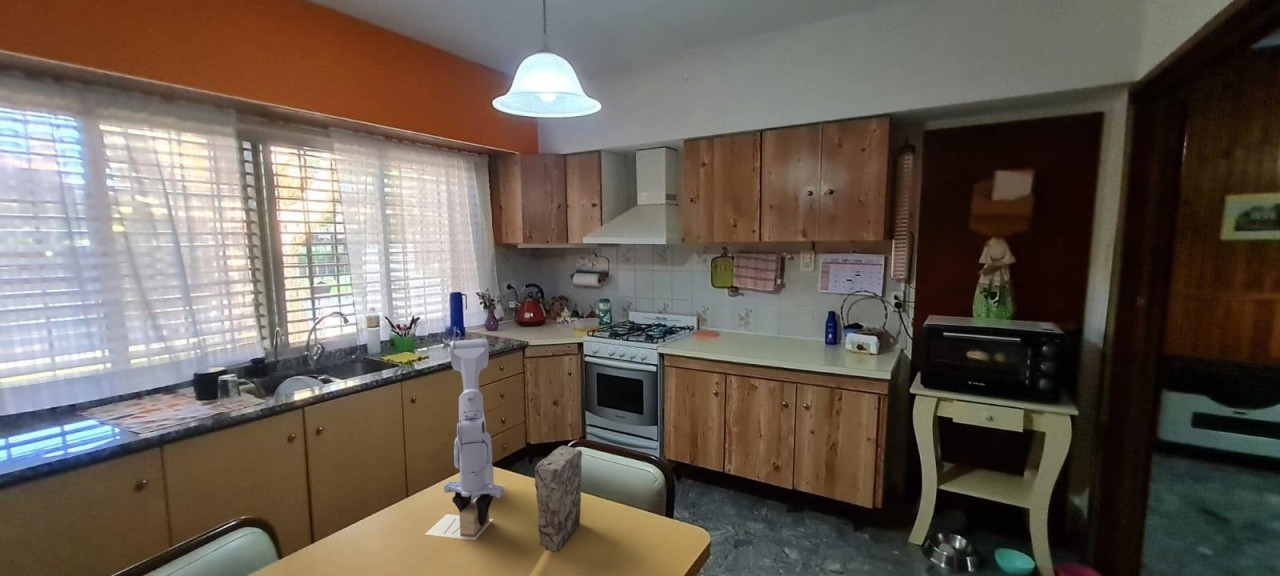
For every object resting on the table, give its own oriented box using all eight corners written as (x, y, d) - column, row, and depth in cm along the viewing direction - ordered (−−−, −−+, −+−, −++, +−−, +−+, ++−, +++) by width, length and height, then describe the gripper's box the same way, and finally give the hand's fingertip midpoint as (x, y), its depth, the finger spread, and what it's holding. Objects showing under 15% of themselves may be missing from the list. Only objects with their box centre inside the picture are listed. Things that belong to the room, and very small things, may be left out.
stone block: (564, 554, 108) (562, 468, 106) (535, 550, 109) (533, 465, 108) (584, 522, 120) (582, 445, 119) (558, 519, 122) (556, 442, 121)
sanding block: (475, 519, 120) (475, 498, 120) (489, 520, 119) (488, 499, 119) (460, 535, 113) (459, 513, 113) (474, 537, 112) (473, 514, 112)
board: (446, 518, 123) (446, 514, 123) (493, 523, 120) (493, 518, 120) (424, 539, 114) (424, 534, 114) (475, 545, 111) (474, 540, 111)
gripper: (435, 473, 113) (438, 528, 114) (492, 478, 110) (494, 535, 111) (452, 460, 120) (454, 512, 120) (506, 464, 117) (508, 518, 118)
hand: (474, 522), depth 116 cm, fingers closed on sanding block, 4 cm apart
